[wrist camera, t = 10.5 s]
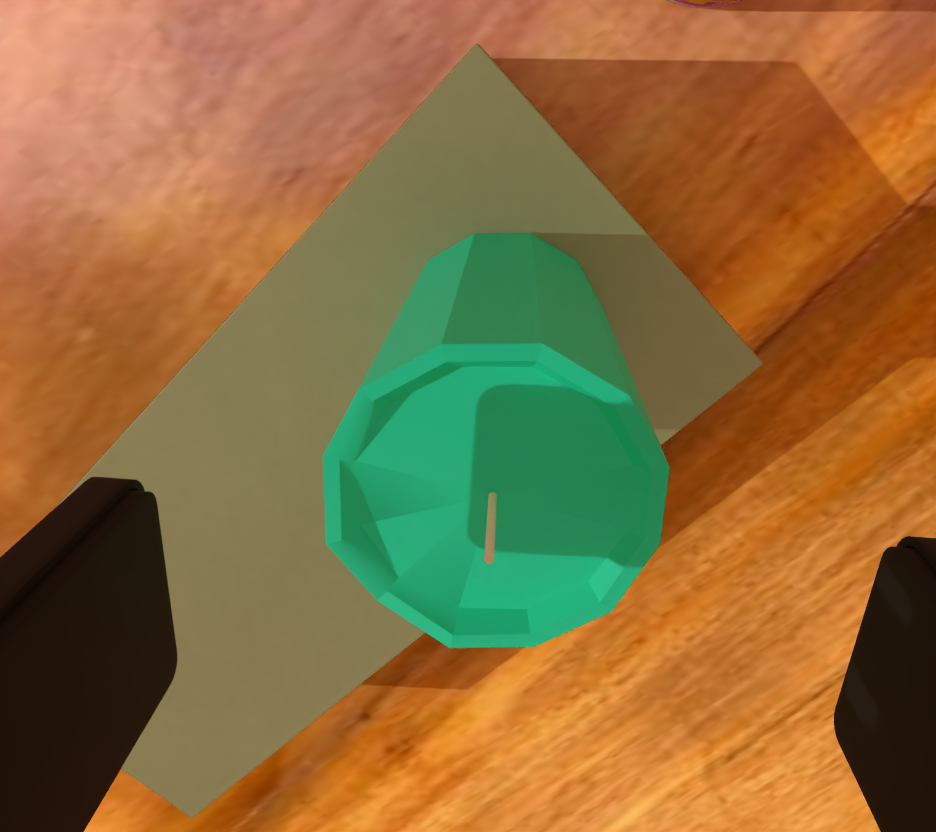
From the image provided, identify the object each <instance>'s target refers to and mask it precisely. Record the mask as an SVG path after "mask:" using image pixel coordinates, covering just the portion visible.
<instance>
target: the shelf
mask: <svg viewBox="0 0 936 832" xmlns="http://www.w3.org/2000/svg"><path fill="white" fill-rule="evenodd" d="M474 233H532V234H533V235H535V236H537V237H538V238H540V239H542V240H544V241H545V242H547V243H549V244H550V245H552V246H554V247H555V248H557V249H559V250H561V251H562V252H564V253H566V254H567V255H569V256H571V257H572V258H574V259H576V260H578V262H579V264H580V266H581V267H582V269H583V271H584V273H585V275H586V277H587V279H588V281H589V282H590V284H591V286H592V288H593V290H594V292H595V294H596V295H597V297H598V299H599V301H600V303H601V305H602V307H603V309H604V311H605V313H606V316H607V318H608V321H609V323H610V325H611V328H612V330H613V333H614V335H615V337H616V340H617V342H618V345H619V347H620V349H621V352H622V354H623V357H624V359H625V361H626V364H627V366H628V369H629V371H630V373H631V376H632V378H633V381H634V383H635V385H636V388H637V390H638V393H639V395H640V397H641V400H642V402H643V405H644V407H645V409H646V412H647V414H648V416H649V419H650V421H651V424H652V426H653V428H654V431H655V433H656V436H657V438H658V440H659V443H660V445H662V444H663V443H665V442H666V441H667V440H668V439H670V438H671V437H672V436H673V435H675V434H676V433H677V432H678V431H680V430H681V429H682V428H683V427H685V426H686V425H687V424H688V423H690V422H691V421H692V420H694V419H695V418H696V417H697V416H699V415H700V414H701V413H702V412H704V411H705V410H706V409H707V408H709V407H710V406H711V405H712V404H714V403H715V402H716V401H717V400H719V399H720V398H721V397H722V396H724V395H725V394H726V393H727V392H729V391H730V390H731V389H732V388H734V387H735V386H736V385H738V384H739V383H740V382H741V381H743V380H744V379H745V378H746V377H748V376H749V375H750V374H751V373H753V372H754V371H755V370H756V369H758V368H759V367H760V366H761V365H762V364H763V362H762V361H761V360H760V358H759V357H758V356H757V355H756V354H755V353H754V352H753V351H752V349H751V348H750V347H749V346H748V345H747V344H746V343H745V342H744V340H743V339H742V338H741V337H740V336H739V335H738V334H737V333H736V332H735V330H734V329H733V328H732V327H731V326H730V325H729V324H728V323H727V321H726V320H725V319H724V318H723V317H722V316H721V315H720V314H719V312H718V311H717V310H716V309H715V308H714V307H713V306H712V305H711V304H710V302H709V301H708V300H707V299H706V298H705V297H704V296H703V295H702V293H701V292H700V291H699V290H698V289H697V288H696V287H695V286H694V285H693V283H692V282H691V281H690V280H689V279H688V278H687V277H686V276H685V274H684V273H683V272H682V271H681V270H680V269H679V268H678V267H677V265H676V264H675V263H674V262H673V261H672V260H671V259H670V258H669V257H668V255H667V254H666V253H665V252H664V251H663V250H662V249H661V248H660V246H659V245H658V244H657V243H656V242H655V241H654V240H653V239H652V237H651V236H650V235H649V234H648V233H647V232H646V231H645V230H644V229H643V227H642V226H641V225H640V224H639V223H638V222H637V221H636V220H635V218H634V217H633V216H632V215H631V214H630V213H629V212H628V211H627V210H626V208H625V207H624V206H623V205H622V204H621V203H620V202H619V201H618V199H617V198H616V197H615V196H614V195H613V194H612V193H611V192H610V190H609V189H608V188H607V187H606V186H605V185H604V184H603V183H602V182H601V180H600V179H599V178H598V177H597V176H596V175H595V174H594V173H593V171H592V170H591V169H590V168H589V167H588V166H587V165H586V164H585V163H584V161H583V160H582V159H581V158H580V157H579V156H578V155H577V154H576V152H575V151H574V150H573V149H572V148H571V147H570V146H569V145H568V143H567V142H566V141H565V140H564V139H563V138H562V137H561V136H560V135H559V133H558V132H557V131H556V130H555V129H554V128H553V127H552V126H551V124H550V123H549V122H548V121H547V120H546V119H545V118H544V117H543V115H542V114H541V113H540V112H539V111H538V110H537V109H536V108H535V107H534V105H533V104H532V103H531V102H530V101H529V100H528V99H527V98H526V96H525V95H524V94H523V93H522V92H521V91H520V90H519V89H518V88H517V86H516V85H515V84H514V83H513V82H512V81H511V80H510V79H509V77H508V76H507V75H506V74H505V73H504V72H503V71H502V70H501V68H500V67H499V66H498V65H497V64H496V63H495V62H494V61H493V60H492V58H491V57H490V56H489V55H488V54H487V53H486V52H485V51H484V49H483V48H482V47H481V46H480V45H479V44H475V45H474V47H473V48H472V49H471V50H470V51H469V52H468V53H467V54H466V55H465V56H464V58H463V59H462V60H461V61H460V62H459V63H458V64H457V65H456V66H455V67H454V69H453V70H452V71H451V72H450V73H449V74H448V75H447V76H446V77H445V78H444V80H443V81H442V82H441V83H440V84H439V85H438V86H437V87H436V88H435V90H434V91H433V92H432V93H431V94H430V95H429V96H428V97H427V98H426V99H425V101H424V102H423V103H422V104H421V105H420V106H419V107H418V108H417V109H416V110H415V112H414V113H413V114H412V115H411V116H410V117H409V118H408V119H407V120H406V121H405V123H404V124H403V125H402V126H401V127H400V128H399V129H398V130H397V131H396V133H395V134H394V135H393V136H392V137H391V138H390V139H389V140H388V141H387V142H386V144H385V145H384V146H383V147H382V148H381V149H380V150H379V151H378V152H377V153H376V155H375V156H374V157H373V158H372V159H371V160H370V161H369V162H368V163H367V164H366V166H365V167H364V168H363V169H362V170H361V171H360V172H359V173H358V174H357V176H356V177H355V178H354V179H353V180H352V181H351V182H350V183H349V184H348V185H347V187H346V188H345V189H344V190H343V191H342V192H341V193H340V194H339V195H338V196H337V198H336V199H335V200H334V201H333V202H332V203H331V204H330V205H329V206H328V207H327V209H326V210H325V211H324V212H323V213H322V214H321V215H320V216H319V217H318V219H317V220H316V221H315V222H314V223H313V224H312V225H311V226H310V227H309V228H308V230H307V231H306V232H305V233H304V234H303V235H302V236H301V237H300V238H299V239H298V241H297V242H296V243H295V244H294V245H293V246H292V247H291V248H290V249H289V250H288V252H287V253H286V254H285V255H284V256H283V257H282V258H281V259H280V260H279V262H278V263H277V264H276V265H275V266H274V267H273V268H272V269H271V270H270V271H269V273H268V274H267V275H266V276H265V277H264V278H263V279H262V280H261V281H260V282H259V284H258V285H257V286H256V287H255V288H254V289H253V290H252V291H251V292H250V293H249V295H248V296H247V297H246V298H245V299H244V300H243V301H242V302H241V303H240V304H239V306H238V307H237V308H236V309H235V310H234V311H233V312H232V313H231V314H230V316H229V317H228V318H227V319H226V320H225V321H224V322H223V323H222V324H221V325H220V327H219V328H218V329H217V330H216V331H215V332H214V333H213V334H212V335H211V336H210V338H209V339H208V340H207V341H206V342H205V343H204V344H203V345H202V346H201V347H200V349H199V350H198V351H197V352H196V353H195V354H194V355H193V356H192V357H191V359H190V360H189V361H188V362H187V363H186V364H185V365H184V366H183V367H182V368H181V370H180V371H179V372H178V373H177V374H176V375H175V376H174V377H173V378H172V379H171V381H170V382H169V383H168V384H167V385H166V386H165V387H164V388H163V389H162V390H161V392H160V393H159V394H158V395H157V396H156V397H155V398H154V399H153V400H152V402H151V403H150V404H149V405H148V406H147V407H146V408H145V409H144V410H143V411H142V413H141V414H140V415H139V416H138V417H137V418H136V419H135V420H134V421H133V422H132V424H131V425H130V426H129V427H128V428H127V429H126V430H125V431H124V432H123V433H122V435H121V436H120V437H119V438H118V439H117V440H116V441H115V442H114V443H113V445H112V446H111V447H110V448H109V449H108V450H107V451H106V452H105V453H104V454H103V456H102V457H101V458H100V459H99V460H98V461H97V462H96V463H95V464H94V465H93V467H92V468H91V469H90V470H89V471H88V472H87V473H86V474H85V475H84V476H83V478H82V479H81V480H80V481H79V482H78V483H77V484H76V485H75V486H74V488H73V489H72V490H71V491H70V492H69V493H68V494H67V495H66V496H65V497H64V499H63V500H62V501H61V502H63V501H64V500H65V499H66V498H67V497H68V496H69V495H70V494H71V493H73V492H74V491H75V490H76V489H77V488H78V487H79V486H80V485H81V484H83V483H84V482H85V481H86V480H87V479H89V478H91V477H107V478H121V479H135V480H138V481H139V482H141V484H142V485H143V487H144V490H145V491H148V492H152V493H153V494H154V495H155V497H156V501H157V506H158V513H159V521H160V528H161V535H162V543H163V550H164V558H165V565H166V573H167V580H168V587H169V595H170V602H171V610H172V617H173V625H174V632H175V640H176V647H177V658H178V659H177V667H176V672H175V675H174V678H173V681H172V683H171V685H170V687H169V688H168V690H167V692H166V693H165V695H164V697H163V698H162V700H161V702H160V703H159V705H158V707H157V708H156V710H155V712H154V714H153V715H152V717H151V719H150V720H149V722H148V724H147V725H146V727H145V729H144V730H143V732H142V734H141V736H140V737H139V739H138V741H137V742H136V744H135V746H134V747H133V749H132V751H131V752H130V754H129V756H128V757H127V759H126V761H125V763H124V764H123V766H122V768H121V769H122V770H123V771H125V772H126V773H128V774H129V775H130V776H132V777H133V778H135V779H136V780H138V781H139V782H141V783H142V784H143V785H145V786H146V787H148V788H149V789H151V790H152V791H154V792H155V793H156V794H158V795H159V796H161V797H162V798H164V799H165V800H166V801H168V802H169V803H171V804H172V805H174V806H175V807H177V808H178V809H179V810H181V811H182V812H184V813H185V814H187V815H188V816H190V817H191V818H193V817H194V816H196V815H197V814H198V813H199V812H201V811H202V810H203V809H204V808H206V807H207V806H208V805H209V804H211V803H212V802H213V801H214V800H216V799H217V798H218V797H220V796H221V795H222V794H223V793H225V792H226V791H227V790H228V789H230V788H231V787H232V786H233V785H235V784H236V783H237V782H238V781H240V780H241V779H242V778H243V777H245V776H246V775H247V774H248V773H250V772H251V771H252V770H253V769H255V768H256V767H257V766H258V765H260V764H261V763H262V762H264V761H265V760H266V759H267V758H269V757H270V756H271V755H272V754H274V753H275V752H276V751H277V750H279V749H280V748H281V747H282V746H284V745H285V744H286V743H287V742H289V741H290V740H291V739H292V738H294V737H295V736H296V735H297V734H299V733H300V732H301V731H303V730H304V729H305V728H306V727H308V726H309V725H310V724H311V723H313V722H314V721H315V720H316V719H318V718H319V717H320V716H321V715H323V714H324V713H325V712H326V711H328V710H329V709H330V708H331V707H333V706H334V705H335V704H336V703H338V702H339V701H340V700H341V699H343V698H344V697H345V696H347V695H348V694H349V693H350V692H352V691H353V690H354V689H355V688H357V687H358V686H359V685H360V684H362V683H363V682H364V681H365V680H367V679H368V678H369V677H370V676H372V675H373V674H374V673H375V672H377V671H378V670H379V669H380V668H382V667H383V666H384V665H385V664H387V663H388V662H389V661H391V660H392V659H393V658H394V657H396V656H397V655H398V654H399V653H401V652H402V651H403V650H404V649H406V648H407V647H408V646H409V645H411V644H412V643H413V642H414V641H416V640H417V639H418V638H419V637H421V636H422V635H423V634H424V633H426V632H424V631H423V630H421V629H420V628H418V627H417V626H415V625H413V624H412V623H410V622H409V621H407V620H406V619H404V618H403V617H401V616H400V615H398V614H397V613H395V612H394V611H392V610H391V609H389V608H388V607H386V606H385V605H383V604H382V603H380V602H379V601H377V600H376V599H375V598H374V597H373V596H372V594H371V593H370V592H369V591H368V590H367V589H366V588H365V587H364V586H363V585H362V583H361V582H360V581H359V580H358V579H357V578H356V577H355V576H354V575H353V574H352V572H351V571H350V570H349V569H348V568H347V567H346V566H345V565H344V564H343V562H342V561H341V560H340V559H339V558H338V557H337V556H336V555H335V554H334V553H333V551H332V550H331V549H330V548H329V547H328V546H327V545H326V535H325V506H324V477H323V454H324V452H325V450H326V448H327V447H328V445H329V443H330V441H331V439H332V437H333V435H334V434H335V432H336V430H337V428H338V426H339V424H340V422H341V421H342V419H343V417H344V415H345V413H346V411H347V409H348V408H349V406H350V404H351V402H352V400H353V398H354V396H355V395H356V393H357V391H358V389H359V387H360V385H361V383H362V382H363V380H364V378H365V376H366V374H367V372H368V370H369V369H370V367H371V365H372V363H373V361H374V359H375V357H376V356H377V354H378V352H379V350H380V348H381V346H382V344H383V343H384V341H385V339H386V337H387V335H388V333H389V331H390V330H391V328H392V326H393V324H394V322H395V320H396V318H397V317H398V315H399V313H400V311H401V309H402V307H403V305H404V304H405V302H406V300H407V298H408V296H409V294H410V293H411V291H412V289H413V287H414V285H415V283H416V281H417V280H418V278H419V276H420V274H421V272H422V270H423V269H424V267H425V265H426V263H427V261H428V260H430V259H432V258H433V257H435V256H437V255H438V254H440V253H442V252H443V251H445V250H447V249H448V248H450V247H452V246H453V245H455V244H457V243H459V242H460V241H462V240H464V239H465V238H467V237H469V236H470V235H472V234H474ZM61 502H60V503H61ZM60 503H59V504H60ZM59 504H58V505H59ZM58 505H57V506H58ZM57 506H56V507H57ZM56 507H55V508H56ZM55 508H54V509H55Z"/></svg>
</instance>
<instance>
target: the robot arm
mask: <svg viewBox="0 0 936 832" xmlns="http://www.w3.org/2000/svg"><path fill="white" fill-rule="evenodd" d="M177 659H178V658H177V647H176V640H175V632H174V625H173V617H172V610H171V602H170V595H169V587H168V580H167V573H166V565H165V558H164V550H163V543H162V535H161V528H160V521H159V513H158V506H157V501H156V497H155V495H154V494H153V493H152V492H148V491H145V490H144V487H143V485H142V484H141V482H139V481H138V480H135V479H121V478H107V477H91V478H89V479H87V480H86V481H85V482H84V483H83V484H81V485H80V486H79V487H78V488H77V489H76V490H75V491H74V492H73V493H71V494H70V495H69V496H68V497H67V498H66V499H65V500H64V501H63V502H61V503H60V504H59V505H58V506H57V507H56V508H55V509H54V510H53V511H51V512H50V513H49V514H48V515H47V516H46V517H45V518H44V519H43V520H41V521H40V522H39V523H38V524H37V525H36V526H35V527H34V528H33V529H31V530H30V531H29V532H28V533H27V534H26V535H25V536H24V537H23V538H21V539H20V540H19V541H18V542H17V543H16V544H15V545H14V546H13V547H11V548H10V549H9V550H8V551H7V552H6V553H5V554H4V555H3V556H1V557H0V832H84V830H85V828H86V827H87V825H88V823H89V822H90V820H91V818H92V817H93V815H94V813H95V811H96V810H97V808H98V806H99V805H100V803H101V801H102V800H103V798H104V796H105V795H106V793H107V791H108V790H109V788H110V786H111V784H112V783H113V781H114V779H115V778H116V776H117V774H118V773H119V771H120V769H121V768H122V766H123V764H124V763H125V761H126V759H127V757H128V756H129V754H130V752H131V751H132V749H133V747H134V746H135V744H136V742H137V741H138V739H139V737H140V736H141V734H142V732H143V730H144V729H145V727H146V725H147V724H148V722H149V720H150V719H151V717H152V715H153V714H154V712H155V710H156V708H157V707H158V705H159V703H160V702H161V700H162V698H163V697H164V695H165V693H166V692H167V690H168V688H169V687H170V685H171V683H172V681H173V678H174V675H175V672H176V667H177ZM834 727H835V733H836V737H837V740H838V742H839V744H840V747H841V749H842V751H843V753H844V755H845V757H846V759H847V761H848V763H849V766H850V768H851V770H852V772H853V774H854V776H855V778H856V780H857V782H858V784H859V787H860V789H861V791H862V793H863V795H864V797H865V799H866V801H867V803H868V806H869V808H870V810H871V812H872V814H873V816H874V818H875V820H876V822H877V825H878V827H879V829H880V831H881V832H936V538H923V537H910V536H908V537H905V538H903V539H902V540H901V541H900V542H899V543H898V545H897V547H889V548H887V549H886V550H885V552H884V553H883V556H882V558H881V561H880V564H879V568H878V571H877V574H876V577H875V581H874V584H873V587H872V590H871V594H870V597H869V600H868V603H867V607H866V610H865V613H864V616H863V620H862V623H861V626H860V630H859V633H858V636H857V639H856V643H855V646H854V649H853V652H852V656H851V659H850V662H849V665H848V669H847V672H846V675H845V678H844V682H843V685H842V688H841V692H840V695H839V698H838V701H837V705H836V708H835V713H834Z"/></svg>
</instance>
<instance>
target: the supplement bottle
mask: <svg viewBox="0 0 936 832" xmlns="http://www.w3.org/2000/svg"><path fill="white" fill-rule="evenodd" d="M668 1H671V2H673V3H676V4H679V5H683V6H687V7H694V8H713V7H721V6H726V5H730V4H733V3H736V2H739V1H742V0H668Z"/></svg>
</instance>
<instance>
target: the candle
mask: <svg viewBox="0 0 936 832" xmlns="http://www.w3.org/2000/svg"><path fill="white" fill-rule="evenodd" d="M669 469H670V467H669V464H668V462H667V460H666V457H665V455H664V452H663V450H662V448H661V445H660V443H659V440H658V438H657V436H656V433H655V431H654V428H653V426H652V424H651V421H650V419H649V416H648V414H647V412H646V409H645V407H644V405H643V402H642V400H641V397H640V395H639V393H638V390H637V388H636V385H635V383H634V381H633V378H632V376H631V373H630V371H629V369H628V366H627V364H626V361H625V359H624V357H623V354H622V352H621V349H620V347H619V345H618V342H617V340H616V337H615V335H614V333H613V330H612V328H611V325H610V323H609V321H608V318H607V316H606V313H605V311H604V309H603V307H602V305H601V303H600V301H599V299H598V297H597V295H596V294H595V292H594V290H593V288H592V286H591V284H590V282H589V281H588V279H587V277H586V275H585V273H584V271H583V269H582V267H581V266H580V264H579V262H578V260H576V259H574V258H572V257H571V256H569V255H567V254H566V253H564V252H562V251H561V250H559V249H557V248H555V247H554V246H552V245H550V244H549V243H547V242H545V241H544V240H542V239H540V238H538V237H537V236H535V235H533V234H532V233H474V234H472V235H470V236H469V237H467V238H465V239H464V240H462V241H460V242H459V243H457V244H455V245H453V246H452V247H450V248H448V249H447V250H445V251H443V252H442V253H440V254H438V255H437V256H435V257H433V258H432V259H430V260H428V261H427V263H426V265H425V267H424V269H423V270H422V272H421V274H420V276H419V278H418V280H417V281H416V283H415V285H414V287H413V289H412V291H411V293H410V294H409V296H408V298H407V300H406V302H405V304H404V305H403V307H402V309H401V311H400V313H399V315H398V317H397V318H396V320H395V322H394V324H393V326H392V328H391V330H390V331H389V333H388V335H387V337H386V339H385V341H384V343H383V344H382V346H381V348H380V350H379V352H378V354H377V356H376V357H375V359H374V361H373V363H372V365H371V367H370V369H369V370H368V372H367V374H366V376H365V378H364V380H363V382H362V383H361V385H360V387H359V389H358V391H357V393H356V395H355V396H354V398H353V400H352V402H351V404H350V406H349V408H348V409H347V411H346V413H345V415H344V417H343V419H342V421H341V422H340V424H339V426H338V428H337V430H336V432H335V434H334V435H333V437H332V439H331V441H330V443H329V445H328V447H327V448H326V450H325V452H324V454H323V477H324V506H325V535H326V545H327V546H328V547H329V548H330V549H331V550H332V551H333V553H334V554H335V555H336V556H337V557H338V558H339V559H340V560H341V561H342V562H343V564H344V565H345V566H346V567H347V568H348V569H349V570H350V571H351V572H352V574H353V575H354V576H355V577H356V578H357V579H358V580H359V581H360V582H361V583H362V585H363V586H364V587H365V588H366V589H367V590H368V591H369V592H370V593H371V594H372V596H373V597H374V598H375V599H376V600H377V601H379V602H380V603H382V604H383V605H385V606H386V607H388V608H389V609H391V610H392V611H394V612H395V613H397V614H398V615H400V616H401V617H403V618H404V619H406V620H407V621H409V622H410V623H412V624H413V625H415V626H417V627H418V628H420V629H421V630H423V631H424V632H426V633H427V634H429V635H430V636H432V637H433V638H435V639H436V640H438V641H439V642H441V643H442V644H444V645H445V646H447V647H448V648H486V647H535V646H537V645H539V644H542V643H544V642H546V641H548V640H550V639H553V638H555V637H557V636H559V635H561V634H564V633H566V632H568V631H570V630H573V629H575V628H577V627H579V626H581V625H584V624H586V623H588V622H590V621H592V620H595V619H597V618H599V617H601V616H604V615H606V614H608V613H610V612H611V611H612V610H613V609H614V607H615V606H616V605H617V603H618V602H619V600H620V599H621V598H622V596H623V595H624V593H625V592H626V591H627V589H628V588H629V587H630V585H631V584H632V582H633V581H634V580H635V578H636V577H637V575H638V574H639V573H640V571H641V570H642V569H643V567H644V566H645V564H646V563H647V562H648V560H649V559H650V557H651V556H652V555H653V553H654V552H655V550H656V549H657V548H658V546H659V545H660V541H661V533H662V525H663V517H664V509H665V501H666V493H667V485H668V477H669Z"/></svg>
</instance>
